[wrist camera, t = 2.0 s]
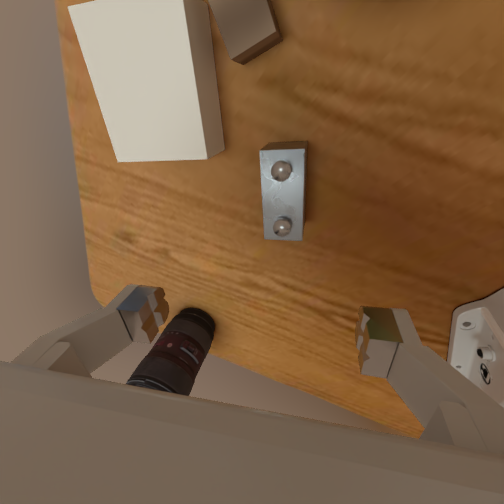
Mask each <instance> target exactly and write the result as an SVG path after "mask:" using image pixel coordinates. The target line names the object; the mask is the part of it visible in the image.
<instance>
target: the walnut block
mask: <svg viewBox="0 0 504 504" xmlns="http://www.w3.org/2000/svg"><path fill="white" fill-rule="evenodd" d="M208 2H209V4H210V7H211V9H212V12H213V15H214V17H215V20H216V22H217V25H218V28H219V30H220V33H221V35H222V38H223V41H224V43H225V46H226V48H227V51H228V54H229V56H230V59H231V60H233V61H235V62H238V63H240V64H243V65H244V64H245V63H247V62H249V61H250V60H252V59H254V58H255V57H257V56H259V55H260V54H262V53H264V52H265V51H267V50H269V49H270V48H272V47H273V46H275V45H277V44H278V43H280V42H282V41H283V39H282V36H281V33H280V29H279V26H278V23H277V20H276V16H275V13H274V10H273V6H272V3H271V0H208Z"/></svg>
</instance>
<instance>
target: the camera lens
mask: <svg viewBox="0 0 504 504" xmlns="http://www.w3.org/2000/svg"><path fill="white" fill-rule="evenodd" d="M214 329H215V325H214V322H213V320H212V318H211V317H210V316H209V315H208V314H207V313H205V312H203V311H201V310H199V309H195V308H187V309H184V310H182V311H181V312H180V313H179V314H178V315H176V316H175V317H174V318H173V319H172V321H171V322H170V323H169V324H168V325H167V326H166V328H165V329H164V331H163V332H162V334H161V336H160V337H159V339H158V340H157V342H156V343H155V345H154V346H153V348H152V349H151V351H150V352H149V353H148V355H147V356H145V358H144V359H143V360H142V361H141V363H140V364H139V365H138V367H137V368H136V370H135V371H134V373H133V374H132V375H131V377H130V379H129V380H128V381H127V383H126V384H127V385H132V386H137V387H143V388H148V389H153V390H159V391H164V392H170V393H175V394H180V395H186V396H189V394H190V392H191V390H192V387H193V384H194V381H195V378H196V375H197V373H198V371H199V369H200V367H201V365H202V363H203V361H204V359H205V357H206V355H207V353H208V351H209V349H210V346H211V343H212V340H213V337H214V333H213V332H214Z"/></svg>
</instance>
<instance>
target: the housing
mask: <svg viewBox="0 0 504 504" xmlns="http://www.w3.org/2000/svg"><path fill="white" fill-rule="evenodd" d="M307 146H308V141H293V142H272V143H268V144H267V145H266V146H264V147H263V148H262V149H261V150H260V168H261V186H262V204H263V222H264V239H271V240H294V241H302V239H303V232H304V225H305V206H306V176H307Z"/></svg>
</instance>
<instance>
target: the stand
mask: <svg viewBox="0 0 504 504" xmlns="http://www.w3.org/2000/svg"><path fill="white" fill-rule="evenodd" d="M68 10H69V13H70V16H71V19H72V22H73V25H74V28H75V31H76V34H77V37H78V40H79V44H80V47H81V50H82V53H83V56H84V59H85V62H86V65H87V68H88V71H89V74H90V77H91V81H92V84H93V87H94V90H95V93H96V96H97V99H98V102H99V105H100V108H101V111H102V114H103V118H104V121H105V124H106V127H107V130H108V133H109V136H110V139H111V142H112V145H113V148H114V151H115V155H116V158H117V161H118V162H137V161H168V160H199V159H209V158H211V157H213V156H214V155H216V154H218V153H220V152H222V151H224V150H225V145H224V137H223V128H222V120H221V112H220V103H219V95H218V86H217V78H216V69H215V61H214V52H213V44H212V36H211V27H210V19H209V10H208V4H207V3H205V2H204V1H203V0H96V1H91V2H87V3H82V4H77V5H73V6H68Z"/></svg>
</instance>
